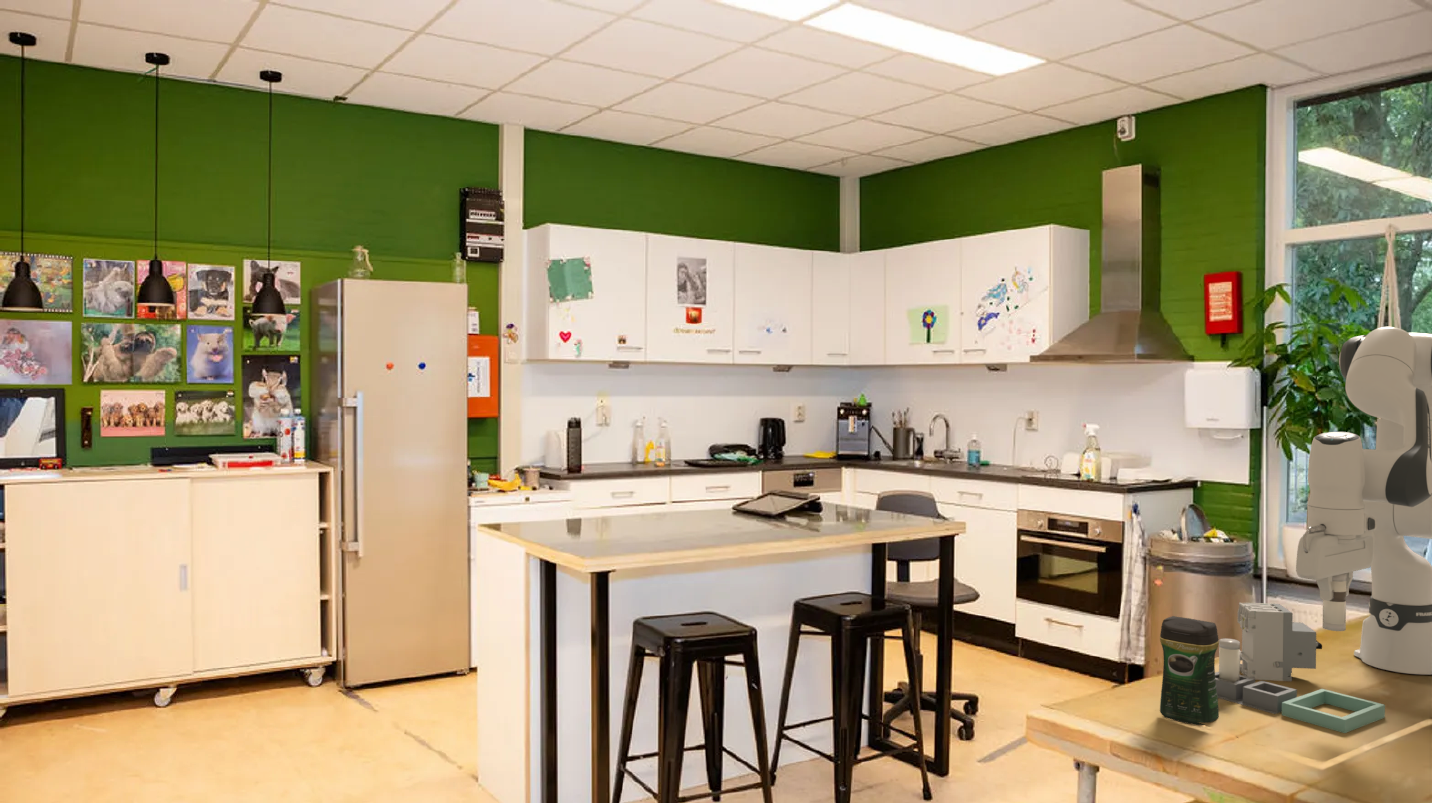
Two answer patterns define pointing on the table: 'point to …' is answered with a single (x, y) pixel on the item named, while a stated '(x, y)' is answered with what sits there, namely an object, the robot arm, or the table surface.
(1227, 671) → the cylinder
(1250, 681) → the block
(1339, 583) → the cylinder
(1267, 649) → the circuit breaker
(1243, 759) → the table surface
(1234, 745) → the table surface
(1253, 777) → the table surface
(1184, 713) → the coffee jar
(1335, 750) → the table surface
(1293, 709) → the parts tray
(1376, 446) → the robot arm
